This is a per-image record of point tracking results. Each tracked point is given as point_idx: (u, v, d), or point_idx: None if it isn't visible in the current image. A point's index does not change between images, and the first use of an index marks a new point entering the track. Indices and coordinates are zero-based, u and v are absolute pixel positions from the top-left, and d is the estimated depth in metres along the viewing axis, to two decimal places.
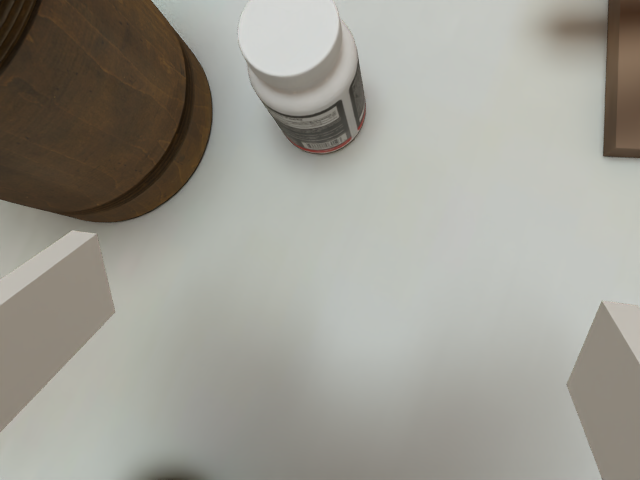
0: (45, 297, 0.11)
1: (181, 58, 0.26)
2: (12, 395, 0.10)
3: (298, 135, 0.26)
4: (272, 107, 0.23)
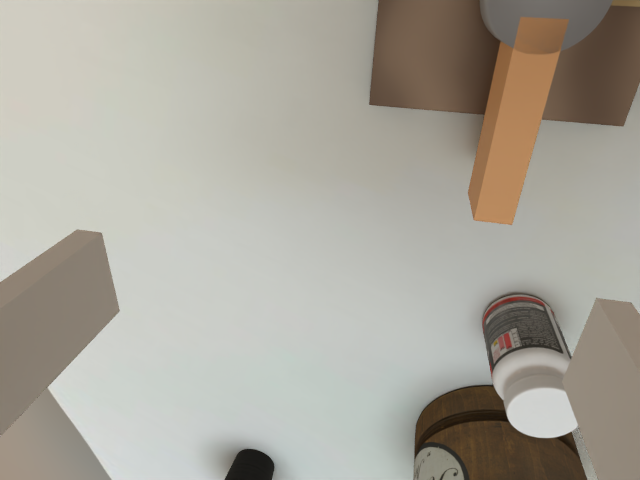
0: (51, 296, 0.11)
1: (487, 424, 0.38)
2: (18, 393, 0.10)
3: None
4: None
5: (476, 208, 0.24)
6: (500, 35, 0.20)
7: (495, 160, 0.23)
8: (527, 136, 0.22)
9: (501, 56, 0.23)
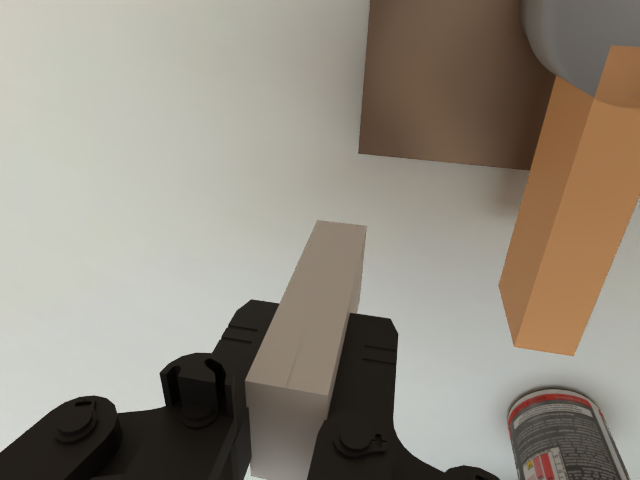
0: None
1: None
2: None
3: None
4: None
5: (518, 330, 0.16)
6: (572, 76, 0.12)
7: (552, 267, 0.14)
8: (607, 234, 0.14)
9: (560, 101, 0.15)
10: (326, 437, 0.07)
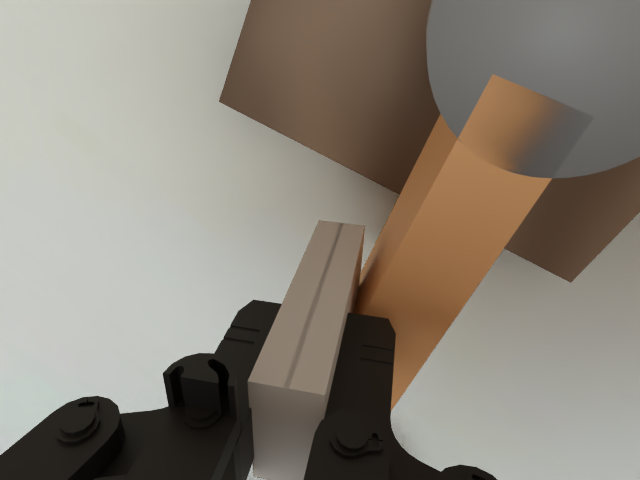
0: None
1: None
2: None
3: None
4: None
5: None
6: (438, 100, 0.09)
7: None
8: (439, 311, 0.11)
9: (439, 131, 0.11)
10: (323, 437, 0.07)
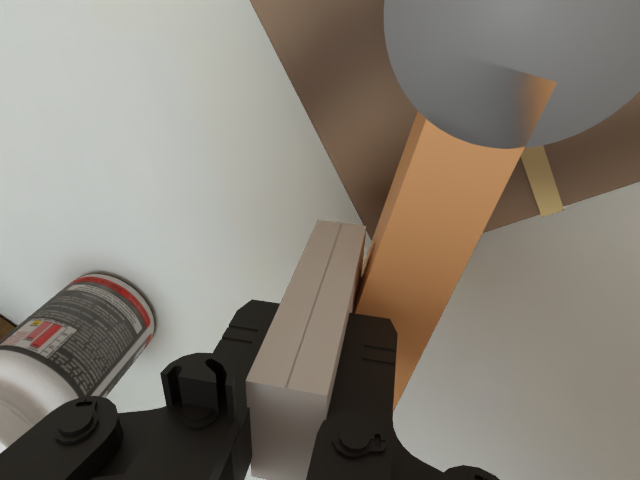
0: None
1: None
2: None
3: None
4: None
5: None
6: (402, 83, 0.09)
7: None
8: (432, 294, 0.11)
9: (418, 117, 0.12)
10: (325, 437, 0.07)
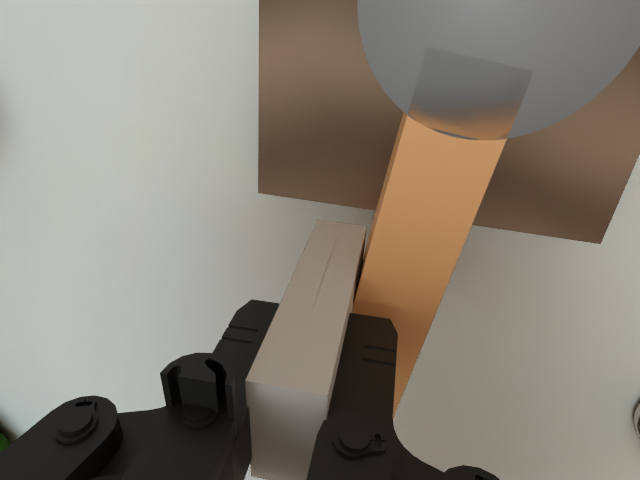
0: None
1: None
2: None
3: None
4: None
5: None
6: (381, 81, 0.09)
7: None
8: (426, 289, 0.11)
9: (404, 115, 0.12)
10: (326, 437, 0.07)
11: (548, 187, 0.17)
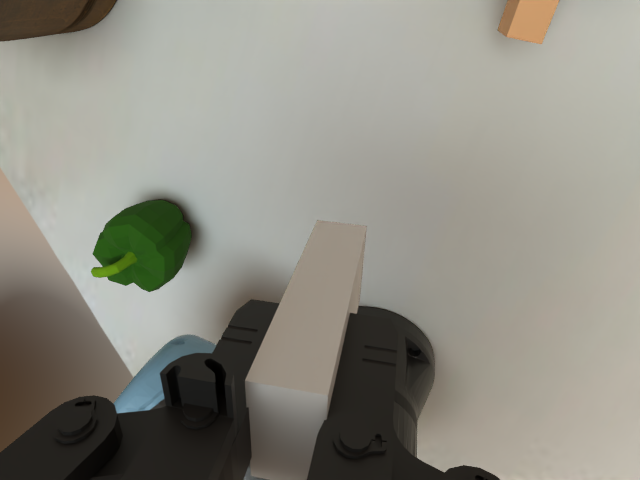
0: None
1: None
2: None
3: None
4: None
5: (511, 24, 0.26)
6: None
7: None
8: None
9: None
10: (326, 437, 0.07)
11: None
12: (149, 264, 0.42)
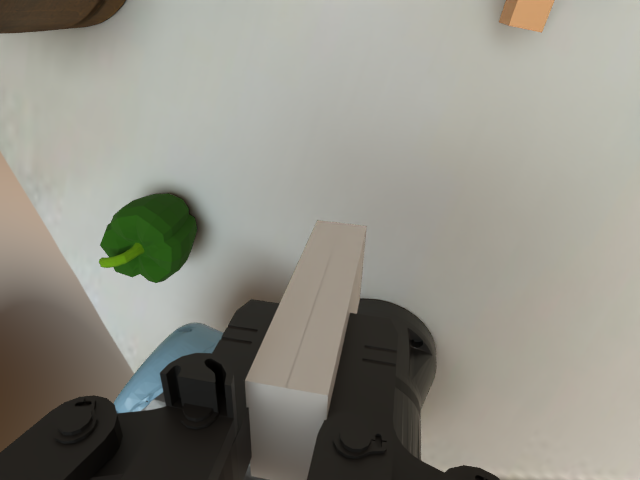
0: None
1: None
2: None
3: None
4: None
5: (512, 13, 0.27)
6: None
7: None
8: None
9: None
10: (326, 437, 0.07)
11: None
12: (156, 255, 0.43)
